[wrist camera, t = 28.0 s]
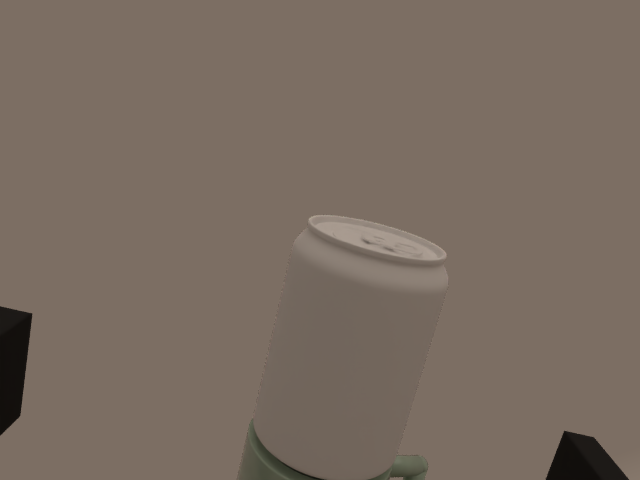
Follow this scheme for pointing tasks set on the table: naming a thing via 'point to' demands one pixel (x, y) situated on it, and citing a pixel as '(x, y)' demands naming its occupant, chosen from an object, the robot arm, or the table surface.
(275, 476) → the mug
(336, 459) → the beverage can
